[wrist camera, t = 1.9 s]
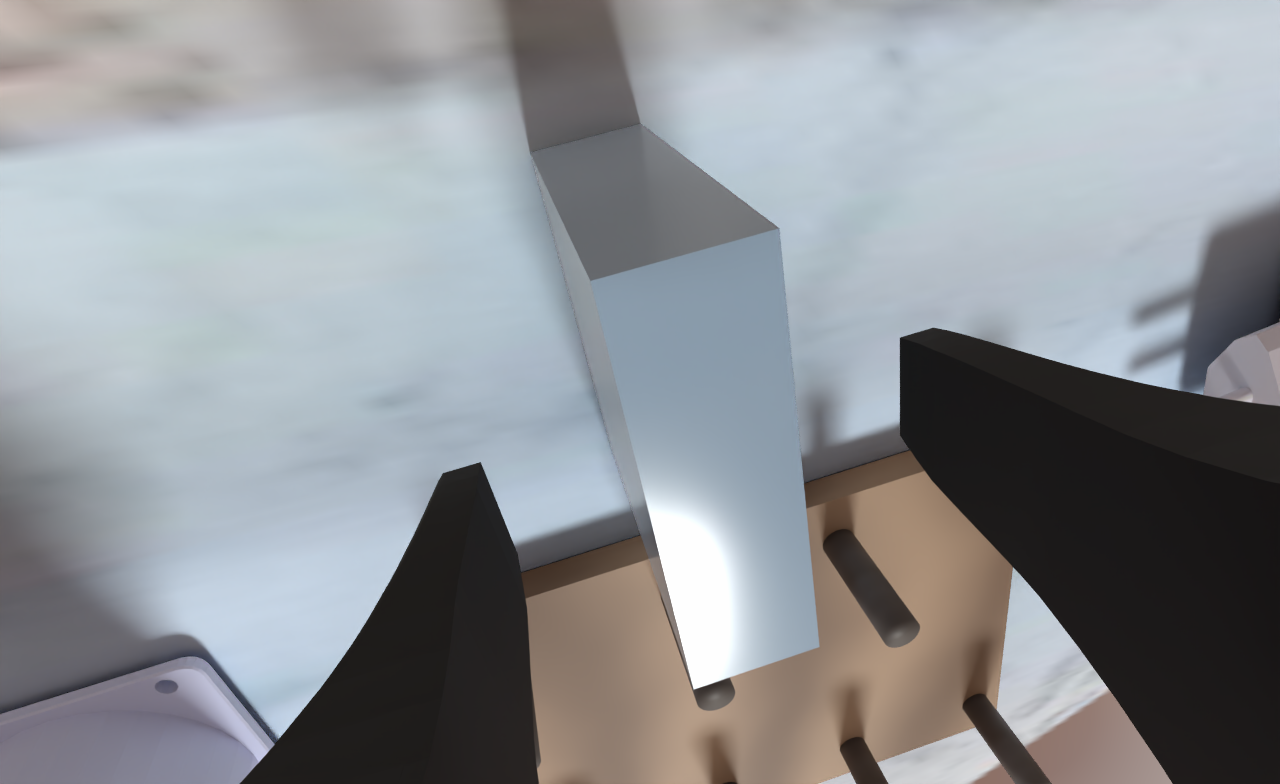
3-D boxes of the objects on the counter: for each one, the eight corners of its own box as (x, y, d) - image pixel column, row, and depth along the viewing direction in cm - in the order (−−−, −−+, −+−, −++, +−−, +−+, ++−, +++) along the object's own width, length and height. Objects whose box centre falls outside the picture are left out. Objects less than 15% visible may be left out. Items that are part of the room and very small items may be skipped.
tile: (612, 453, 19) (693, 689, 13) (529, 152, 15) (589, 280, 9) (697, 428, 19) (819, 646, 13) (640, 123, 15) (779, 228, 9)
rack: (575, 841, 28) (595, 980, 24) (454, 593, 20) (456, 737, 16) (979, 698, 29) (1059, 806, 25) (1004, 420, 22) (1123, 513, 18)
